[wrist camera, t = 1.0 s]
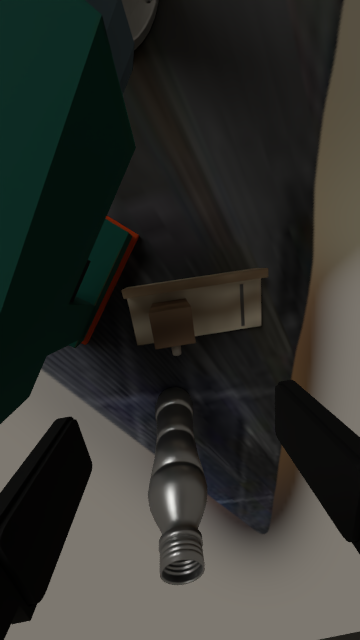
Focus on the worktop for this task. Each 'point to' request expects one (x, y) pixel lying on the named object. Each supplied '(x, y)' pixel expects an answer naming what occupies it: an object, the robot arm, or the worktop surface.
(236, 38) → the worktop surface
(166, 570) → the plastic bottle
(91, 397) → the worktop surface
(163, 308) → the brown block with knob
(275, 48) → the worktop surface
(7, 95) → the power tool
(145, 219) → the worktop surface
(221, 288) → the board
